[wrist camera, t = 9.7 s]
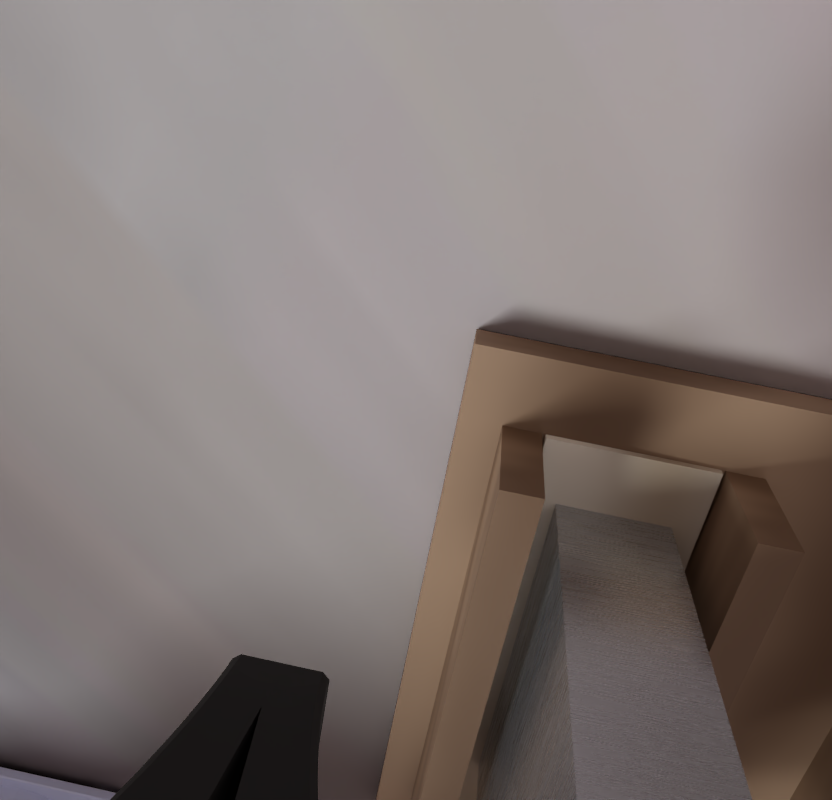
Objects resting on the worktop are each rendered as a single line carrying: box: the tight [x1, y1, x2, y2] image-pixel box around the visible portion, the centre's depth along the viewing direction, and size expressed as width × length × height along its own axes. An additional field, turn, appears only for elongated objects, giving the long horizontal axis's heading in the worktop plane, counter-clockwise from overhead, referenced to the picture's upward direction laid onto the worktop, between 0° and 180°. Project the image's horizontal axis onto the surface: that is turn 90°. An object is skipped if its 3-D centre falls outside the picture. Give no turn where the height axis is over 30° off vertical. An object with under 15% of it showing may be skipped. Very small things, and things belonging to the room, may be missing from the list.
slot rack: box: [376, 329, 832, 800], centre depth 21 cm, size 20×18×4 cm
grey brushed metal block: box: [476, 504, 752, 800], centre depth 18 cm, size 3×10×9 cm, turn 171°
